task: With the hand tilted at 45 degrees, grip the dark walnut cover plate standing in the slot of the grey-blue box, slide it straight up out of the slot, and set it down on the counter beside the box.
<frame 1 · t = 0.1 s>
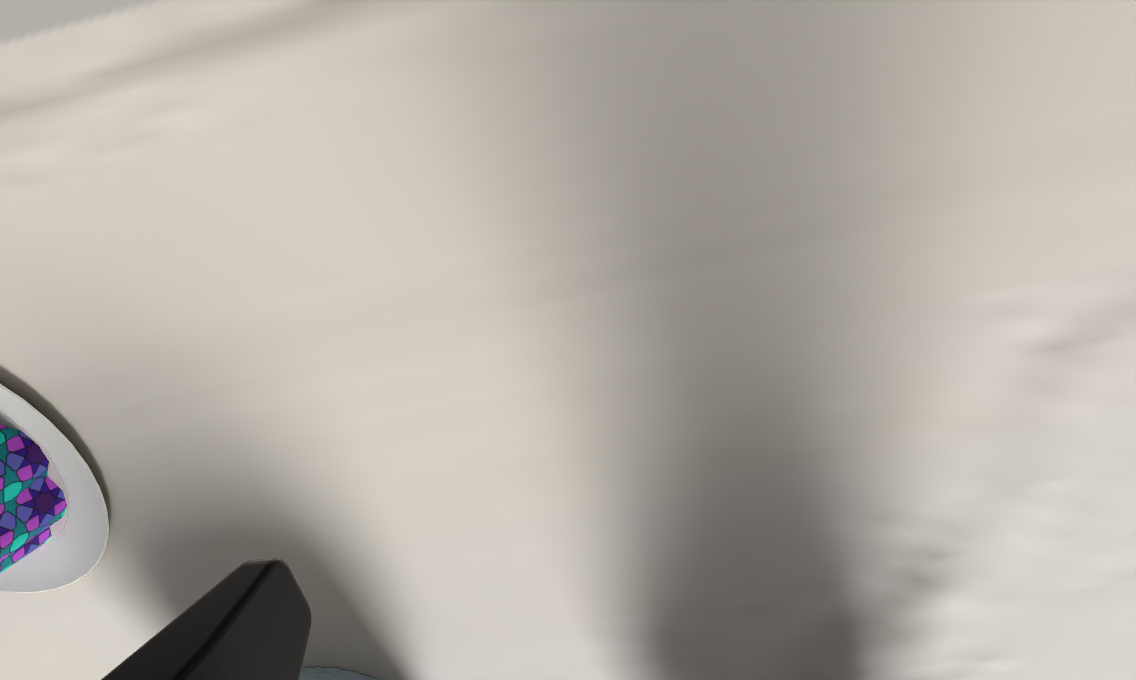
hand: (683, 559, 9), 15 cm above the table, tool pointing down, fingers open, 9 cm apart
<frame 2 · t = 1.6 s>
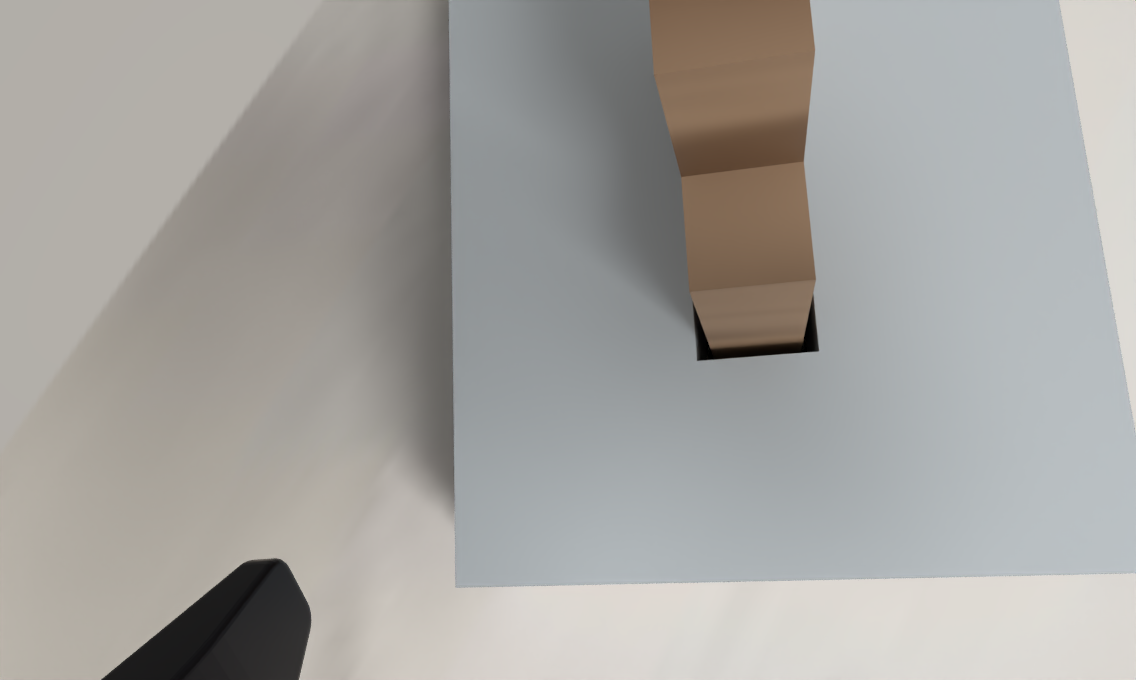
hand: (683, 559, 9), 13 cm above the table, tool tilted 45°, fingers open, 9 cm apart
slotted box: (745, 226, 23), on the table
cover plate: (737, 128, 17), in the slotted box
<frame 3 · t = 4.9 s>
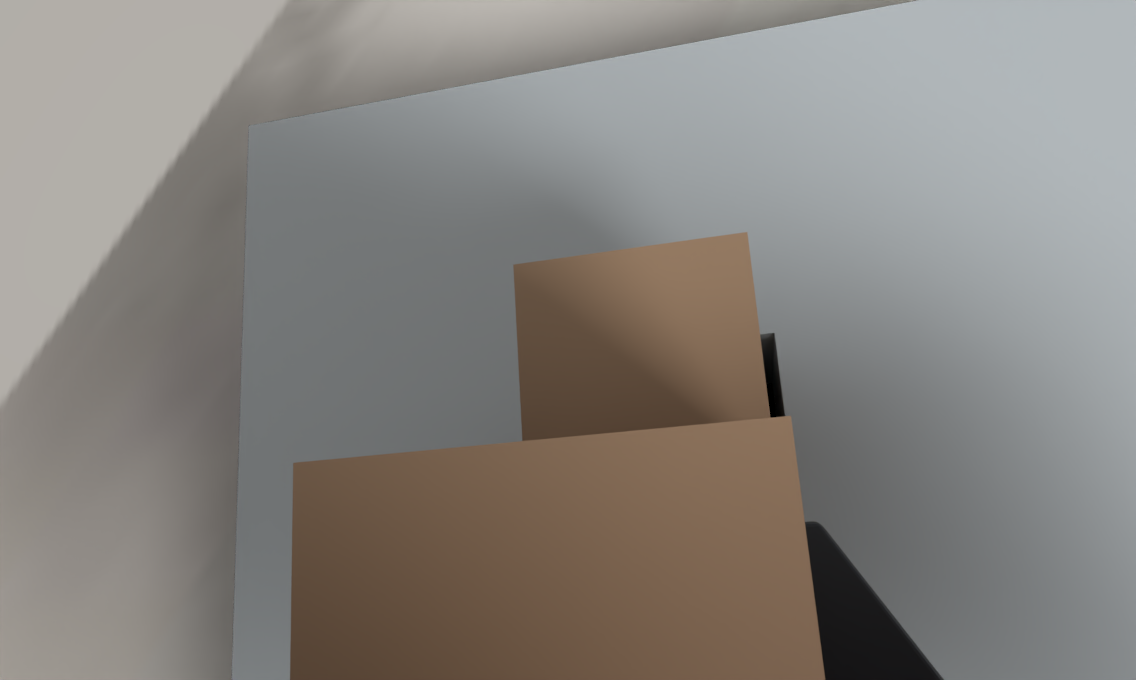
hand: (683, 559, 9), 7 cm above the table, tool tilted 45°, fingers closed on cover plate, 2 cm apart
slotted box: (726, 631, 15), on the table
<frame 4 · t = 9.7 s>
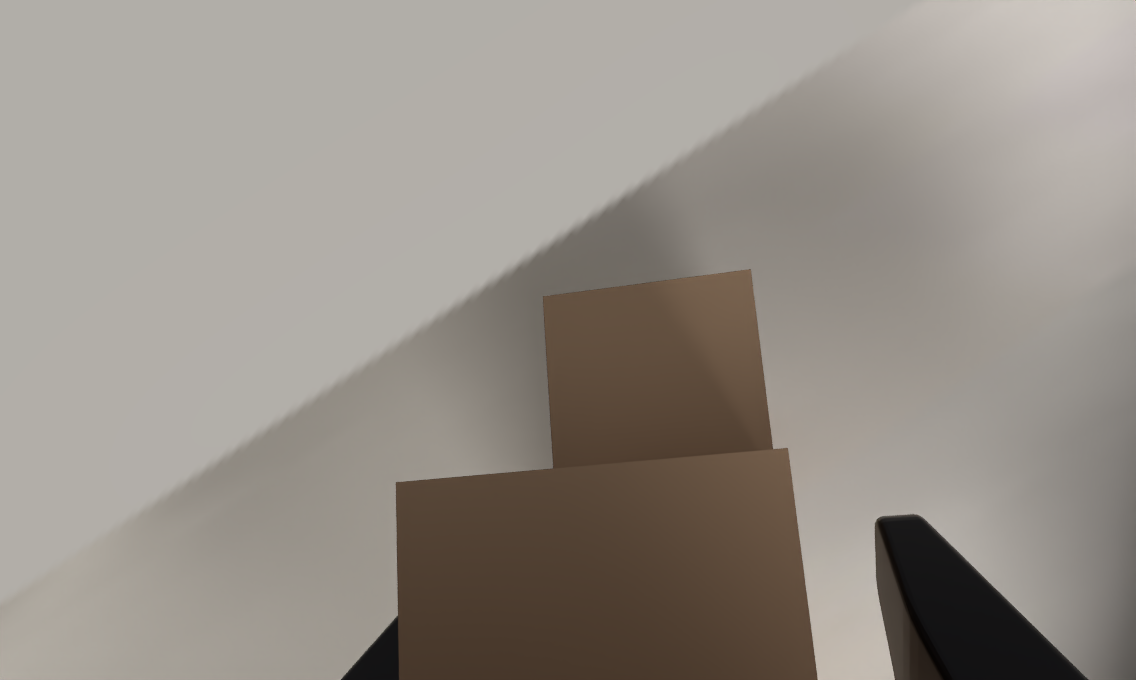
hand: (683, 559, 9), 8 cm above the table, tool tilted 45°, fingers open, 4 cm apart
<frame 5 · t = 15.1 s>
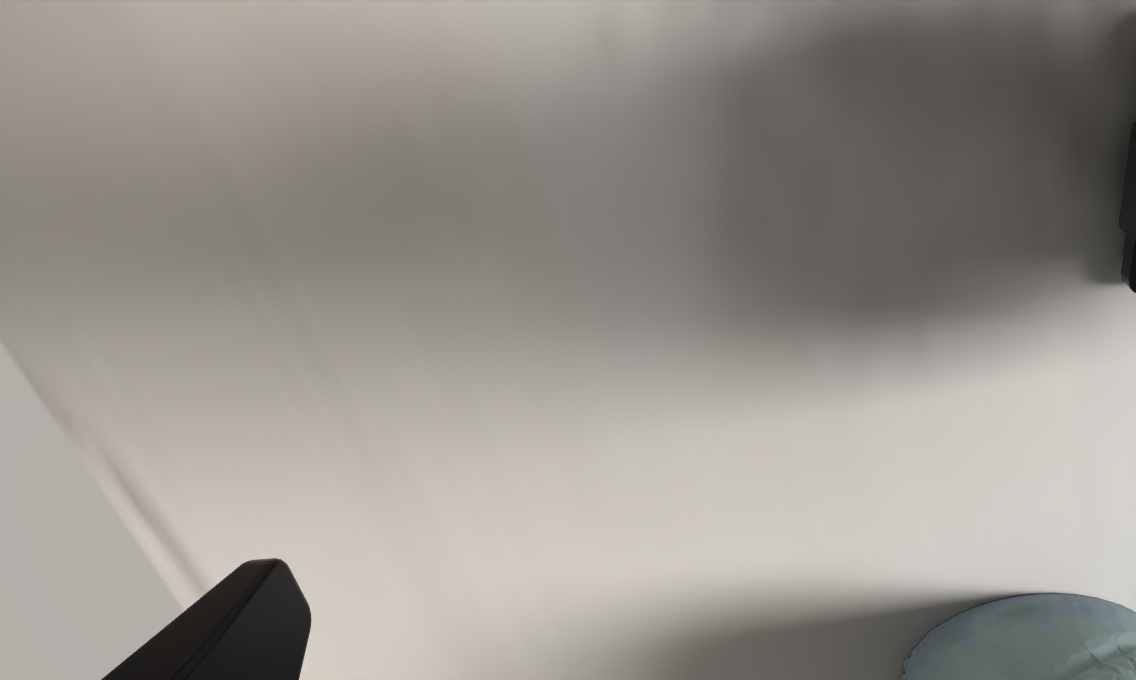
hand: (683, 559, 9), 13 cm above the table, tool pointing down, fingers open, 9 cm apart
teal canister: (1032, 669, 28), on the table
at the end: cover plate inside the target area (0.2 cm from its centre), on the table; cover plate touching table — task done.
